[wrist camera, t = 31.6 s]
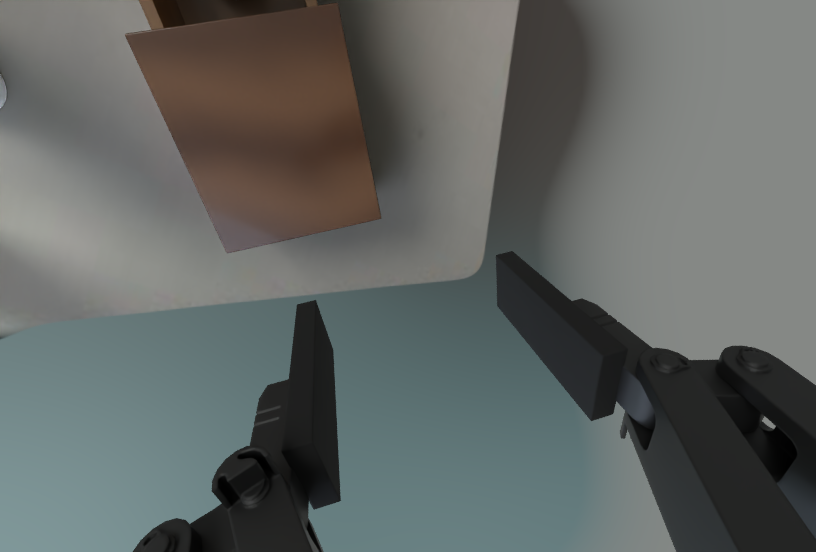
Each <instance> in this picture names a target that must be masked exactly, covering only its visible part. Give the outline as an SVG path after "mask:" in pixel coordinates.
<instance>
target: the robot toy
mask: <svg viewBox="0 0 816 552" xmlns="http://www.w3.org/2000/svg"><path fill="white" fill-rule="evenodd" d="M6 96H7V90H6V86H5V82H4V80H3V78H2V76H1V74H0V108H2V107H3V105H4V103H5V101H6Z"/></svg>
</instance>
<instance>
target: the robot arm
mask: <svg viewBox="0 0 816 552" xmlns="http://www.w3.org/2000/svg"><path fill="white" fill-rule="evenodd" d="M496 270H497V306H498V307H499V309H500V310H501V311H502V312H503V314H504V315H505V316H506V317H507V318H508V320H509V321H510V322H511V323H512V324H513V326H514V327H515V328H516V329H517V331H518V332H519V333H520V334H521V336H522V337H523V338H524V339H525V340H526V342H527V343H528V344H529V345H530V347H531V348H532V349H533V350H534V351H535V353H536V354H537V355H538V356H539V358H540V359H541V360H542V361H543V363H544V364H545V365H546V366H547V368H548V369H549V370H550V371H551V372H552V374H553V375H554V376H555V377H556V379H557V380H558V381H559V382H560V383H561V385H562V386H563V387H564V388H565V390H566V391H567V392H568V393H569V394H570V396H571V397H572V398H573V399H574V401H575V402H576V403H577V404H578V405H579V407H580V408H581V409H582V410H583V412H584V413H585V414H586V415H587V417H588V418H589V419H590V420H591V421H593V420H596V419H599V418H602V417H605V416H609V415H611V414H613V413H614V408H615V404H616V401H617V402H618V403H619V404H620V405H621V406H622V407H623V409H625V414H624V418H623V422H622V426H621V430H620V435H621V438H625V436H626V433H627V429H628V432H629V434H630V437H631V439H632V442H633V444H634V447H635V449H636V452H637V454H638V457H639V459H640V462H641V464H642V467H643V469H644V472H645V474H646V476H647V479H648V482H649V484H650V487H651V489H652V492H653V494H654V497H655V499H656V502H657V505H658V507H659V510H660V512H661V514H662V517H663V520H664V522H665V525H666V527H667V530H668V532H669V535H670V537H671V540H672V542H673V545H674V547H675V549H676V552H816V385H814V384H813V383H812V382H810V381H809V380H808V379H806V378H805V377H803V376H802V375H800V374H799V373H798V372H796V371H795V370H793V369H792V368H791V367H789V366H788V365H786V364H785V363H784V362H782V361H781V360H779V359H778V358H776V357H774V356H773V355H771V354H769V353H767V352H764V351H762V350H759V349H756V348H752V347H747V346H731V347H728V348H725V349H724V350H723V352H722V353H721V355H720V358H719V360H688V359H687V358H686V357H684V356H682V355H680V354H679V353H677V352H674V351H671V350H668V349H660V348H652V347H650V346H649V345H648V344H646V343H645V342H644V341H643V340H641V339H640V338H639V337H637V336H636V335H635V334H634V333H632V332H631V331H630V330H628V329H627V328H626V327H625V326H623V325H622V324H621V323H620V322H617V320H616V319H614V318H613V317H612V316H611V315H608V313H607V312H605V311H604V310H603V309H602V308H600V307H599V306H598V305H596V304H594V303H592V302H589V301H587V300H584V299H578V300H575V301H571V300H570V299H568V298H567V297H566V296H565V295H564V294H562V293H561V292H560V291H559V290H558V289H556V288H555V287H554V286H553V285H552V284H550V283H549V282H548V281H547V280H546V279H545V278H544V277H542V276H541V275H540V274H539V273H538V272H536V271H535V270H534V269H533V268H532V267H530V266H529V265H528V264H527V263H526V262H525V261H523V260H522V259H521V258H520V257H519V256H517V255H516V254H515V253H514V252H512V251H511V252H507V253H503V254H499V255H496ZM256 413H257V415H256V417H255V422H254V428H253V432H252V437H251V442H250V446H246V447H244V448H242V449H240V450H237V451H236V452H234V453H233V454H232V455H230V456H229V457H228V458H227V459H225V461H224V462H223V463H222V464H221V466H220V467H219V468H218V469H217V472H216V474H215V476H214V478H213V481H212V492H213V493H214V494H215V495H216V497H217V498H218V499H219V500H220V501H221V503H222V504H221V505H219V506H218V507H216V508H215V509H213V510H212V511H210V512H208V513H207V514H205V515H204V516H202V517H200V518H199V519H197V520H196V521H194V522H192V523H191V524H189V523H188V522H187V521H186V520H182V519H178V518H176V519H172V520H169V521H165V522H164V523H162V524H160V525H159V526H157V527H155V528H154V529H152V530H151V531H150V532H149V533H148V534H147V535H146V536H145V537H144V538H143V539H142V540H141V541H140V542H139V544H138V545H137V547H136V548H135V549H134V551H133V552H323V549H322V547H321V545H320V542H319V540H318V538H317V535H316V533H315V531H314V528H313V526H312V524H311V522H310V520H309V519H308V504H309V501H310V504H311V505H312V507H313V509H317V508H320V507H323V506H326V505H330V504H333V503H336V502H339V501H341V500H340V479H339V459H338V439H337V418H336V399H335V377H334V359H333V348H332V345H331V342H330V339H329V337H328V334H327V331H326V328H325V325H324V322H323V320H322V317H321V314H320V311H319V308H318V305H317V303H316V300H314V301H310V302H306V303H302V304H298V305H297V311H296V319H295V328H294V337H293V346H292V356H291V365H290V374H289V379H288V380H285V381H281V382H277V383H274V384H270V385H268V386H267V387H266V389H265V390H264V392H263V393H262V395H261V397H260V398H259V402H258V407H257V412H256ZM764 416H765V417H766V418H768V419H769V420H770V421H771V422H772V423H773V424H774V425H776V427H775V429H772V428H770V427H768V426H767V425H766V424H765V423H763V422H762V420H763V418H764Z"/></svg>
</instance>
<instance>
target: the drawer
mask: <svg viewBox="0 0 816 552" xmlns="http://www.w3.org/2000/svg"><path fill="white" fill-rule="evenodd" d="M139 2H140V4H141V6H142V9H143V11H144V13H145V16H146V18H147V20H148V23H149V25H150V27H151V30H154V29H161V28H168V27H175V26H182V25H188V24H195V23H202V22H209V21H216V20H222V19H229V18H236V17H243V16H250V15H256V14H263V13H270V12H277V11H284V10H290V9H297V8H304V7H311V6H318V3H317V0H139Z"/></svg>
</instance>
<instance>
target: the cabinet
mask: <svg viewBox="0 0 816 552" xmlns="http://www.w3.org/2000/svg"><path fill="white" fill-rule="evenodd" d="M125 36H126V39H127V41H128V43H129V45H130V47H131V49H132V51H133V54H134V56H135V58H136V60H137V62H138V64H139V66H140V68H141V71H142V73H143V75H144V77H145V79H146V81H147V83H148V86H149V88H150V90H151V92H152V94H153V96H154V98H155V101H156V103H157V105H158V107H159V109H160V111H161V113H162V116H163V118H164V120H165V122H166V124H167V126H168V128H169V131H170V133H171V135H172V137H173V139H174V141H175V143H176V146H177V148H178V150H179V152H180V154H181V156H182V158H183V160H184V163H185V165H186V167H187V169H188V171H189V173H190V175H191V178H192V180H193V182H194V184H195V186H196V188H197V190H198V193H199V195H200V197H201V199H202V201H203V203H204V205H205V208H206V210H207V212H208V214H209V216H210V218H211V220H212V223H213V225H214V227H215V229H216V231H217V233H218V235H219V238H220V240H221V242H222V244H223V246H224V248H225V250H226V252H227V253H231V252H236V251H240V250H244V249H249V248H253V247H258V246H262V245H267V244H271V243H275V242H280V241H284V240H289V239H293V238H298V237H302V236H306V235H311V234H315V233H320V232H324V231H329V230H333V229H338V228H342V227H346V226H351V225H355V224H360V223H364V222H369V221H373V220H377V219H381V214H380V209H379V204H378V199H377V194H376V189H375V184H374V179H373V174H372V169H371V164H370V159H369V154H368V149H367V144H366V139H365V135H364V130H363V125H362V120H361V115H360V110H359V105H358V100H357V95H356V90H355V85H354V80H353V75H352V70H351V65H350V60H349V55H348V50H347V45H346V40H345V35H344V30H343V25H342V21H341V16H340V11H339V6H338V3H331V4H324V5H318V6H311V7H304V8H297V9H290V10H284V11H277V12H270V13H263V14H256V15H250V16H243V17H236V18H229V19H222V20H216V21H209V22H202V23H195V24H188V25H182V26H175V27H168V28H161V29H154V30H148V31H141V32H134V33H127V34H125Z"/></svg>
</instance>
